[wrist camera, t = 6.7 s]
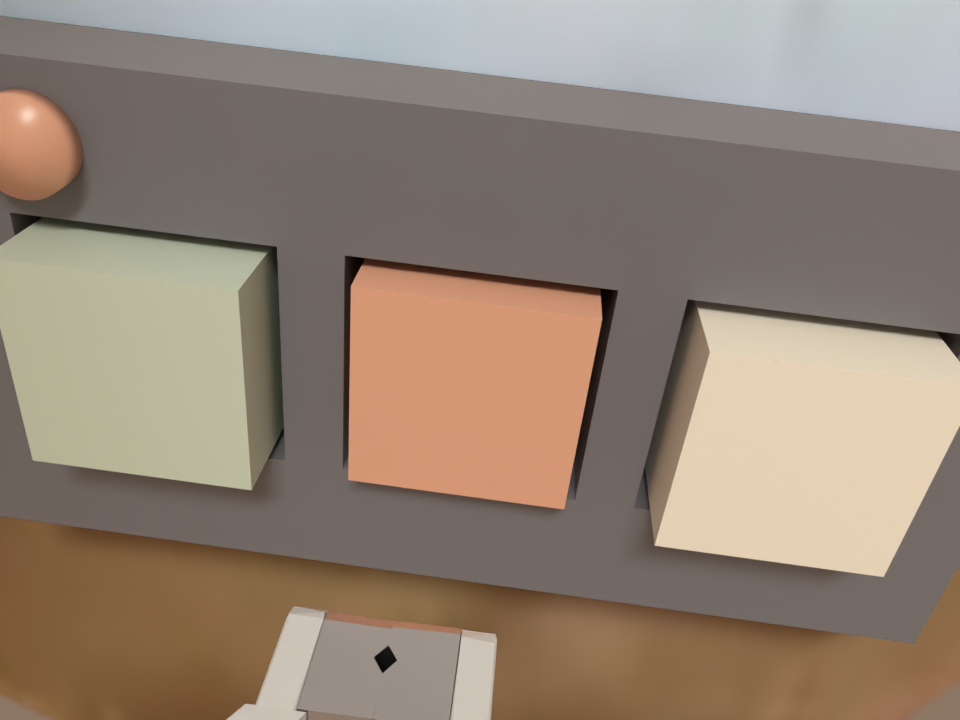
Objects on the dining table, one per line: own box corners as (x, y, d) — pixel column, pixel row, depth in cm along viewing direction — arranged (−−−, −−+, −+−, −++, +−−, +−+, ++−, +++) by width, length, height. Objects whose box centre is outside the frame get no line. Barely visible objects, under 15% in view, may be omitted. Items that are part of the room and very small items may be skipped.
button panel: (58, 446, 24) (-17, 531, 21) (-40, 11, 18) (-166, 42, 15) (876, 558, 23) (923, 663, 20) (1078, 146, 17) (1189, 208, 14)
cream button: (643, 460, 20) (654, 545, 18) (690, 282, 18) (709, 351, 15) (843, 487, 20) (883, 576, 18) (920, 311, 18) (979, 386, 15)
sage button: (98, 387, 21) (32, 460, 18) (64, 202, 18) (-18, 257, 16) (290, 413, 21) (252, 490, 18) (284, 230, 18) (238, 290, 16)
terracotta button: (374, 406, 21) (347, 479, 19) (380, 228, 19) (351, 286, 16) (565, 431, 21) (564, 509, 19) (597, 255, 19) (602, 318, 16)
